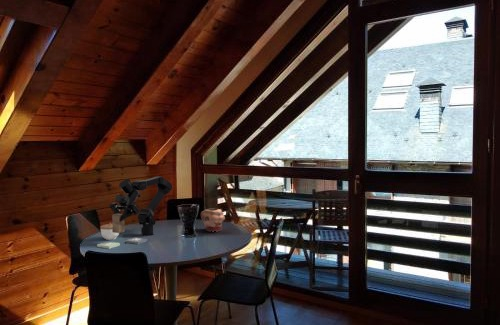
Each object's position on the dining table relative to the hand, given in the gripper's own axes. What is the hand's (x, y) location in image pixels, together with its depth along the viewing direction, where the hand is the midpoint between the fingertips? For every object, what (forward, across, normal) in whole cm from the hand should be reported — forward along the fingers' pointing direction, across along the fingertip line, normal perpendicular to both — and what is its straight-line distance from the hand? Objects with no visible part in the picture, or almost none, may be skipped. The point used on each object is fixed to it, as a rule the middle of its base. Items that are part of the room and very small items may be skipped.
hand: (116, 220), depth 217 cm
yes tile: (+13, 0, +5) cm, 14 cm away
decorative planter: (-28, +30, +46) cm, 61 cm away
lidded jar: (+4, -12, +14) cm, 19 cm away
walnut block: (+4, 0, +6) cm, 7 cm away
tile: (+3, +7, +15) cm, 17 cm away
